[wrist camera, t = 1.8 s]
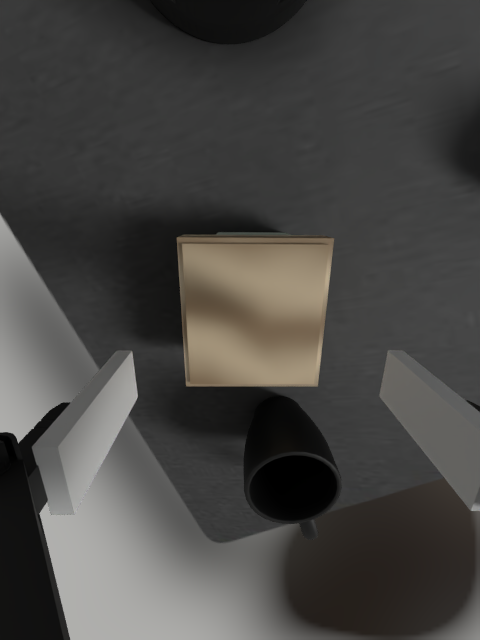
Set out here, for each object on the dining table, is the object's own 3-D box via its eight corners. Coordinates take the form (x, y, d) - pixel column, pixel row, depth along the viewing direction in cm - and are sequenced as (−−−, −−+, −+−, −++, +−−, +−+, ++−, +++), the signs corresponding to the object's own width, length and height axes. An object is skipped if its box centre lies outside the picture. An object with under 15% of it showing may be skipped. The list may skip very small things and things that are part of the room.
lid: (183, 234, 23) (175, 237, 20) (322, 235, 23) (335, 238, 20) (191, 368, 27) (185, 388, 24) (309, 368, 28) (318, 388, 24)
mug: (260, 475, 37) (268, 560, 28) (233, 396, 33) (232, 464, 24) (326, 460, 36) (355, 542, 27) (306, 377, 32) (333, 441, 23)
